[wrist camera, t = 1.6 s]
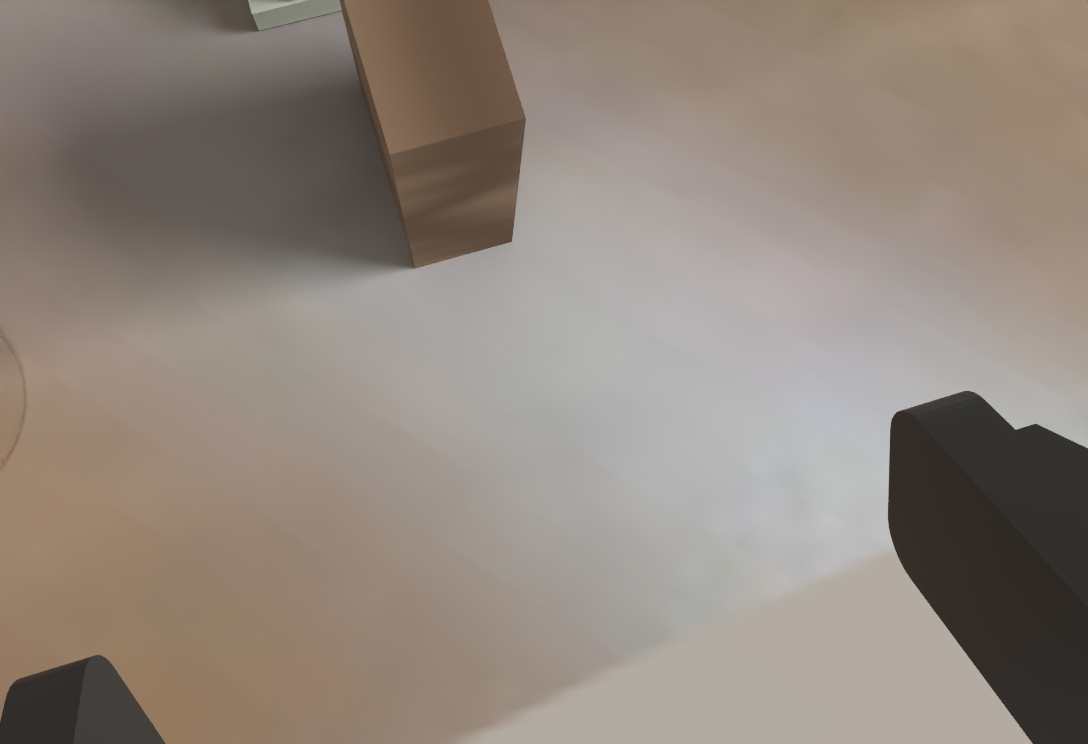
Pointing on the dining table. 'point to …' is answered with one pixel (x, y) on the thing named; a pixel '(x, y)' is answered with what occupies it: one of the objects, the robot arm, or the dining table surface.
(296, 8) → the sage green display stand
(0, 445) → the beer glass
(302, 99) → the dining table surface
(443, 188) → the brown wooden block
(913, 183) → the dining table surface
